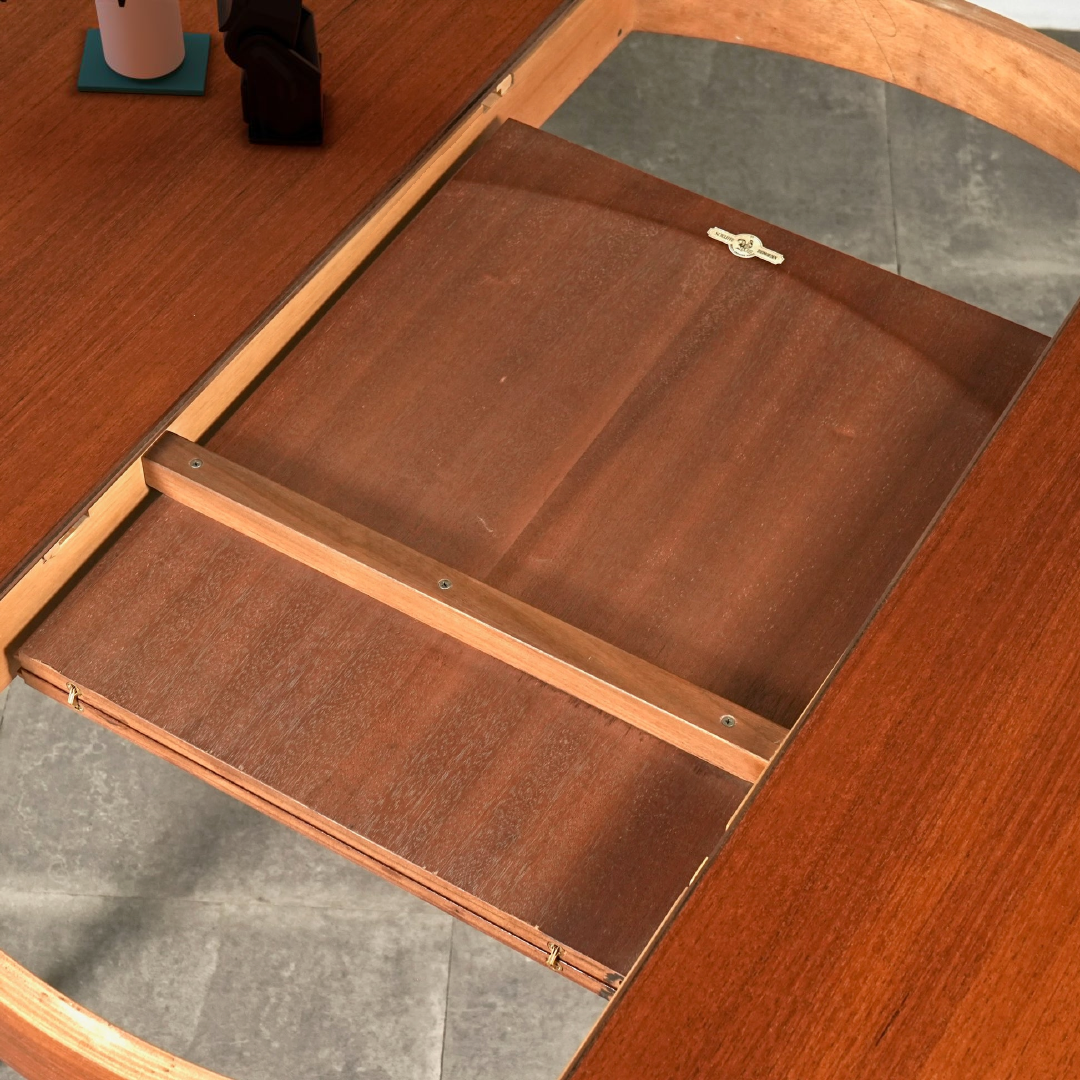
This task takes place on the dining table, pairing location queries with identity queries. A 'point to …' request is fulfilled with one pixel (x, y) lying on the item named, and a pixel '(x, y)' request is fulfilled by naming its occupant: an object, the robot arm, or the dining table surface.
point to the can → (141, 36)
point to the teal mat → (178, 82)
